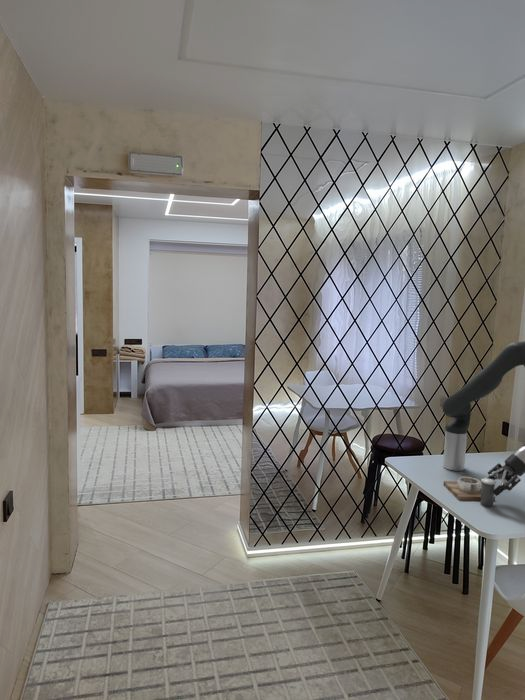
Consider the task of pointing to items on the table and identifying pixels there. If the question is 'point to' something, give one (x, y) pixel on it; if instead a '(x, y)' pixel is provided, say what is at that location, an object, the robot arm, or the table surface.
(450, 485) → the mount board
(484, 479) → the white capped grey cylinder
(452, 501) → the table surface
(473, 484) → the faceted white ring
